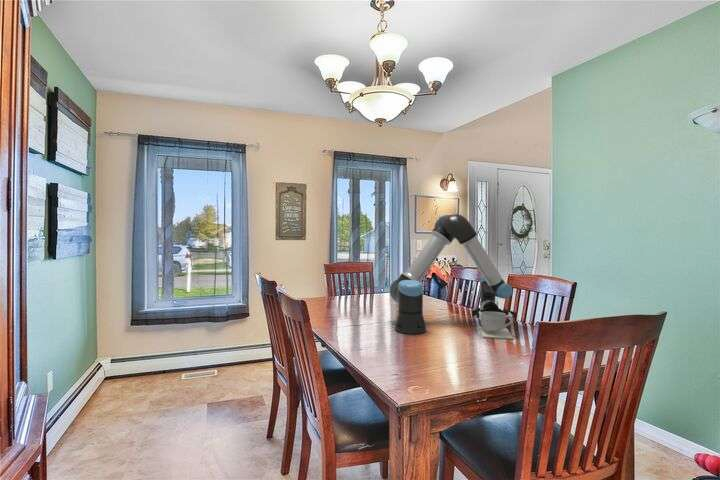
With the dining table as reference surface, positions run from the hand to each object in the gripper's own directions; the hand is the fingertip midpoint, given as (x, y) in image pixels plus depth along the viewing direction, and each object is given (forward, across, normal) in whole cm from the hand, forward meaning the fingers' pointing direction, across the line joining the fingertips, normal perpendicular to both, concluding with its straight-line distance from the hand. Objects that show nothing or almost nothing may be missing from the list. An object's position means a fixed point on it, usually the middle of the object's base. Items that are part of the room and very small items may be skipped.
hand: (496, 317), depth 171 cm
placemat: (-3, 0, -8) cm, 9 cm away
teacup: (-1, 0, -6) cm, 6 cm away
